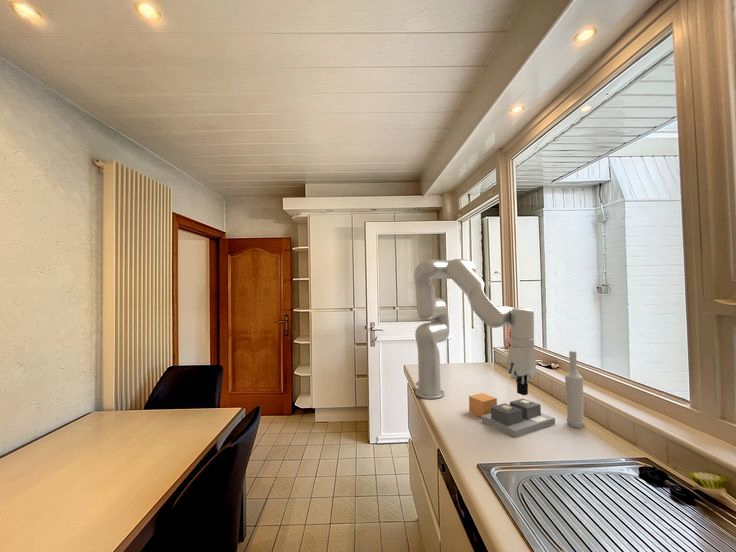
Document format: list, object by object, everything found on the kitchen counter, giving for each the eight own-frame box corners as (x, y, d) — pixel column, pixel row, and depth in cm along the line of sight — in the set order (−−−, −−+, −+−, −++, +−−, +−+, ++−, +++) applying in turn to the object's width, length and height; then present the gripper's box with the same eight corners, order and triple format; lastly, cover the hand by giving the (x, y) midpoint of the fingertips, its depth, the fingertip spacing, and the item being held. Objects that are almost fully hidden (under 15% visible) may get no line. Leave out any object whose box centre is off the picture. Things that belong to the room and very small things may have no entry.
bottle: (585, 429, 107) (581, 353, 108) (566, 426, 110) (563, 352, 111) (584, 423, 112) (581, 350, 112) (566, 420, 115) (564, 349, 115)
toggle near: (501, 417, 112) (501, 406, 112) (506, 416, 113) (505, 404, 113) (507, 420, 110) (506, 408, 110) (512, 418, 111) (511, 407, 111)
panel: (481, 421, 116) (481, 404, 116) (519, 410, 125) (519, 394, 125) (515, 437, 103) (514, 418, 103) (555, 423, 112) (554, 406, 112)
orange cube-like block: (469, 412, 124) (468, 396, 124) (482, 408, 127) (482, 393, 128) (483, 418, 118) (483, 401, 118) (497, 414, 121) (496, 398, 121)
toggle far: (520, 412, 116) (519, 401, 116) (524, 411, 117) (524, 399, 118) (526, 414, 114) (525, 403, 114) (530, 413, 115) (530, 401, 115)
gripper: (526, 339, 123) (526, 387, 123) (498, 342, 117) (499, 394, 116) (545, 342, 117) (545, 393, 117) (517, 346, 110) (517, 401, 110)
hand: (522, 393), depth 117 cm, fingers closed
